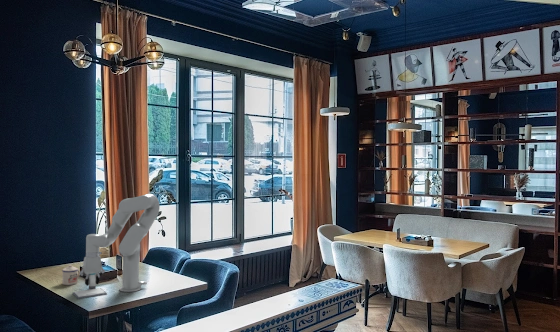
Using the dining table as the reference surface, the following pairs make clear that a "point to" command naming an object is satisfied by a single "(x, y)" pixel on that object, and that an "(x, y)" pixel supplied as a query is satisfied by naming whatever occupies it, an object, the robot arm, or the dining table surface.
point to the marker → (92, 281)
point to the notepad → (89, 293)
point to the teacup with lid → (70, 275)
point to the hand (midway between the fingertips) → (92, 284)
